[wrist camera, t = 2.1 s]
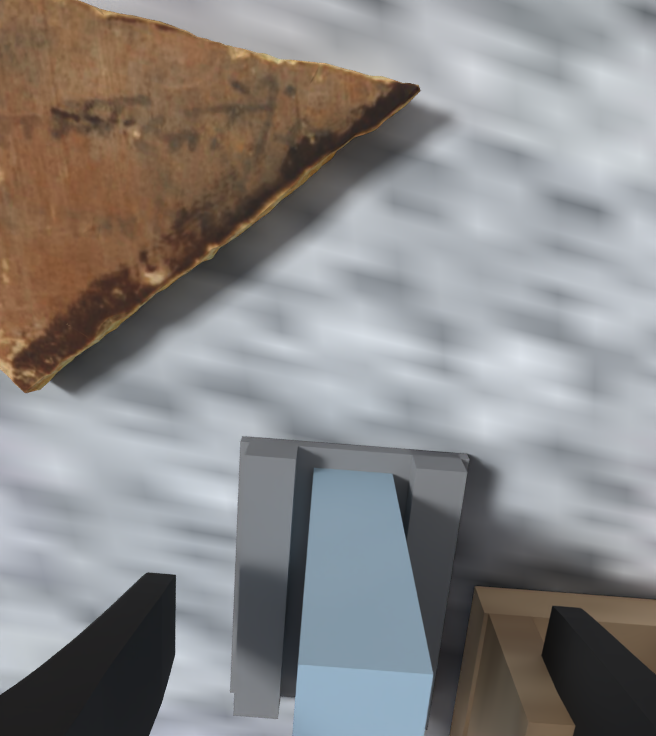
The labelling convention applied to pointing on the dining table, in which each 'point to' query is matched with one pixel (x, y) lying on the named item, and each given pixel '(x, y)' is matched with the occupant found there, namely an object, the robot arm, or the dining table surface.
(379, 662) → the plate
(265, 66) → the shard
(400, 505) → the holder
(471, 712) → the rack
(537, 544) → the dining table surface
